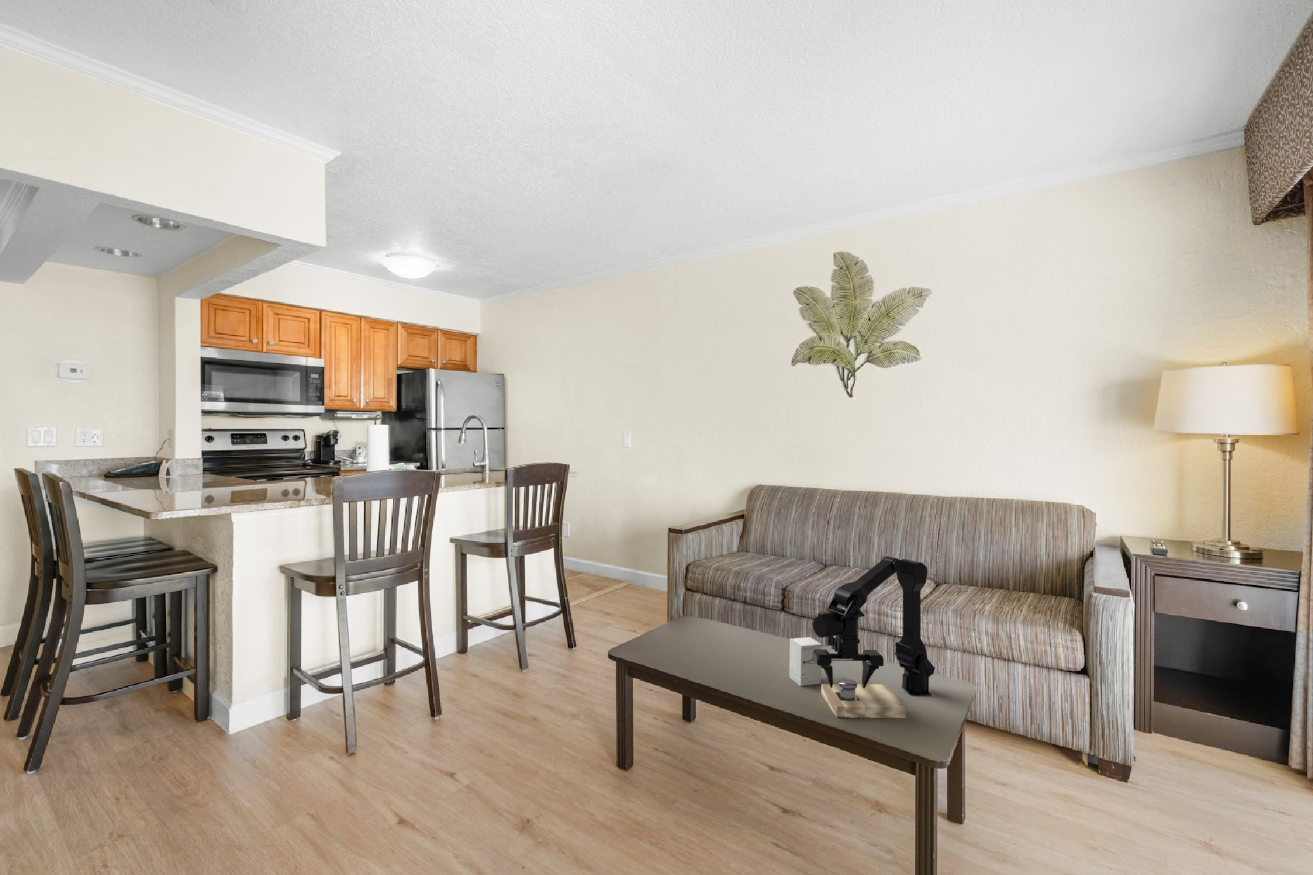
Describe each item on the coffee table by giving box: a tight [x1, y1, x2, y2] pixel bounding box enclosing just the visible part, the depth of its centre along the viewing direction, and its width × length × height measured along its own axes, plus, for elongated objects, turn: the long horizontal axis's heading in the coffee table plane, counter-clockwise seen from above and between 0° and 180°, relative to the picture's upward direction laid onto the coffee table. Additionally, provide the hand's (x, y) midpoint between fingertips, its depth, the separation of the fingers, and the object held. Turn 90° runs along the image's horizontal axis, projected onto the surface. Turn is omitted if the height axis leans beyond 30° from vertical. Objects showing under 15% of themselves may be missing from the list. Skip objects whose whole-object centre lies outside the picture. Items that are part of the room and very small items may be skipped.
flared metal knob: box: [837, 678, 858, 701], centre depth 169 cm, size 5×5×7 cm
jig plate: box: [820, 683, 907, 719], centre depth 170 cm, size 19×15×3 cm
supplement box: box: [788, 636, 822, 687], centre depth 187 cm, size 7×7×13 cm
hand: (847, 687), depth 169 cm, fingers open, 9 cm apart
